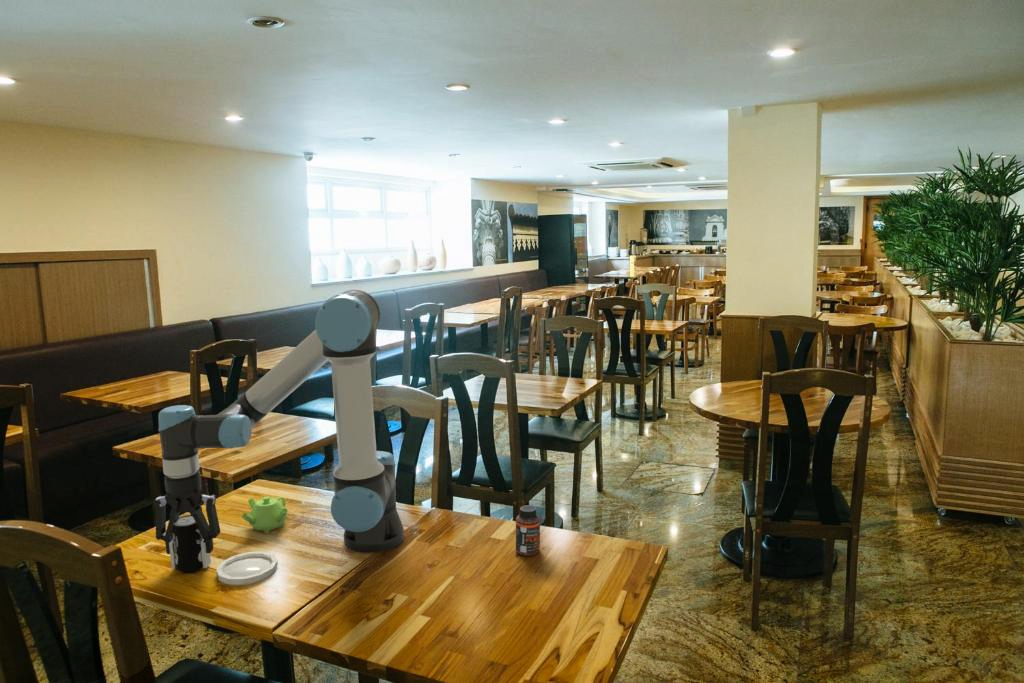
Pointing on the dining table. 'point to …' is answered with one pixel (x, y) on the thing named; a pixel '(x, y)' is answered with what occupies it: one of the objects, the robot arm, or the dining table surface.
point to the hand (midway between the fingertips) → (191, 565)
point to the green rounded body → (266, 514)
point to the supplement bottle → (527, 531)
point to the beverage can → (187, 545)
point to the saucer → (247, 568)
